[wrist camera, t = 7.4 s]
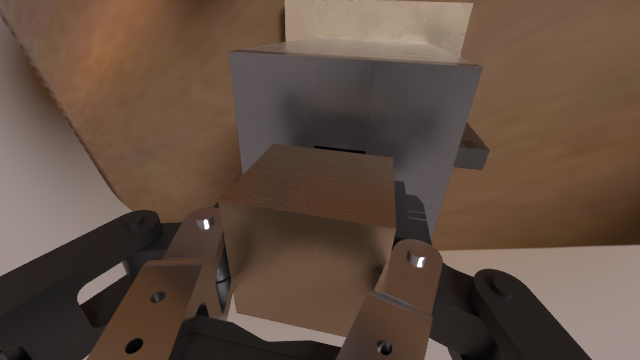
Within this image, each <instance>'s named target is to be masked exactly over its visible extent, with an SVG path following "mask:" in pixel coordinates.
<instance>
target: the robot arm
mask: <svg viewBox="0 0 640 360" xmlns="http://www.w3.org/2000/svg"><path fill="white" fill-rule="evenodd" d="M394 189H395V212H396V232H395V237H394V241H393V246H392V251H391V255H390V260H389V261H387V263H386V265H385V267H384V269H383V272H382V274H381V276H380V278H379V280H378V282H377V285H376V287H375V289H374V290H373V289H370V291H369V292H368V294H367V296H366V298H365V300H364V302H363V304H362V306H361V308H360V310H359V312H358V314H357V317H356V319H355V321H354V323H353V325H352V327H351V329H350V331H349V333H348V335H347V337H346V340H345V342H344V344H343V346H342V348H341V347H337V346H333V345H328V344H324V343H320V342H315V341H311V340H310V341H281V342H280V341H279V342H268V341H264V340H262V339H261V338H259V337H257V336H255V335H254V334H252V333H250V332H248V331H247V330H244V329H243V328H241V327H240V326H238V325H236V324H234V323H232V322H228V321H227V317H228V312H229V308H230V303H231V298H232V294H233V287H232V281H231V275H230V270H229V264H228V258H227V252H226V246H225V240H224V234H223V228H222V222H221V216H220V210H219V204H218V203H217V204H216V205H215V206H214V207H207V208H202V209H198V210H195V211H193V212H191V213H190V214H188V215H187V216H186V217H185V218H184V220H183V221H182V222H178V223H160V219H159V216H158V214H157V213H156V212H154V211H150V210H139V211H134V212H130V213H127V214H125V215H122V216H120V217H118V218H116V219H114V220H112V221H110V222H108V223H106V224H104V225H102V226H100V227H98V228H96V229H95V230H92V231H90V232H88V233H86V234H84V235H82V236H80V237H78V238H76V239H74V240H72V241H70V242H68V243H66V244H64V245H62V246H60V247H58V248H56V249H54V250H52V251H50V252H48V253H46V254H44V255H42V256H40V257H38V258H36V259H34V260H32V261H30V262H28V263H26V264H24V265H22V266H20V267H18V268H16V269H14V270H12V271H10V272H8V273H6V274H4V275H2V276H0V360H82V359H84V358H85V357H86V356H87V355H89V356H88V358H87V359H86V360H424V358H425V354H426V349H427V344H428V339H429V338H431V339H433V340H435V341H437V342H439V343H440V344H442V345H444V346H446V347H448V351H449V353H450V355H451V358H452V360H592V359H590V357H589V356H588V355H587V354H586V353H585V352H584V350H583V349H582V348H581V347H580V346H579V345H578V344H577V343H576V341H575V340H574V339H573V338H572V337H571V336H570V335H569V333H568V332H567V331H566V330H565V329H564V328H563V327H562V326H561V324H560V323H559V322H558V321H557V320H556V319H555V318H554V317H553V315H552V314H551V313H550V312H549V311H548V310H547V309H546V308H545V306H544V305H543V304H542V303H541V302H540V301H539V300H538V299H537V297H536V296H535V295H534V294H533V293H532V292H531V291H530V289H529V288H528V287H527V286H526V285H525V284H523V283H522V282H521V281H520V280H518V279H517V278H515V277H513V276H512V275H510V274H507V273H505V272H502V271H499V270H493V269H483V270H480V271H478V272H477V273H476V274H475V276H474V277H472V276H469V275H467V274H464V273H462V272H459V271H457V270H455V269H453V268H451V267H449V266H447V265H446V264H444V263H443V260H442V257H441V255H440V253H439V252H438V251H437V250H436V249H435V248H434V247H433V246H432V243H431V238H430V233H429V228H428V223H427V218H426V214H425V208H424V204H423V202H422V201H421V200H420V199H419V198H418V197H417V196H415V195H408V194H406V191H405V182H403V181H395V180H394ZM121 262H122V263H123V266H124V268H125V271H126V273H127V275H125V276H124V277H122V278H121V279H119V280H118V281H116V282H115V283H113V284H112V285H110V286H109V287H107V288H106V289H104V290H103V291H101V292H100V293H98V294H96V295H95V296H93V297H92V298H90V299H89V300H87V301H86V302H84V303H83V304H81V305H79V303H78V302H77V295H78V292H79V291H80V290H81V288H82V287H83V286H84V285H85V284H87V283H88V282H90V281H92V280H93V279H95V278H96V277H98V276H100V275H101V274H103V273H105V272H106V271H107V270H109V269H111V268H112V267H114V266H116V265H117V264H119V263H121Z"/></svg>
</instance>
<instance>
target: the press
mask: <svg viewBox="0 0 640 360" xmlns="http://www.w3.org/2000/svg"><path fill="white" fill-rule="evenodd" d="M472 7H473V3H449V2H414V1H379V0H285V37H286V42H282V43H276V44H270V45H264V46H258V47H252V48H246V49H240V50H234V51H229V58H230V67H231V76H232V85H233V94H234V103H235V112H236V121H237V130H238V139H239V148H240V157H241V166H242V175H243V174H244V173H245V172H246V171H247V170H248V169H249V168H250V167H251V166H252V165H253V164H254V163H255V162H256V161H257V160H258V159H259V158H260V157H261V156H262V155H263V154H264V152H265V151H266V150H267V149H268V148H269V147H270V146H271V145H272V144H281V145H290V146H298V147H307V148H316V149H324V150H334V148H341V149H350V150H356V153H359V154H367V155H376V156H384V157H393V166H394V180H395V181H403V182H405V191H406V194H408V195H415V196H417V197H418V198H419V199H420V200H421V201H422V202H423V204H424V208H425V214H426V218H427V223H428V228H429V233H430V238H431V239H432V235H433V232H434V229H435V225H436V222H437V219H438V215H439V212H440V209H441V205H442V202H443V199H444V195H445V192H446V189H447V185H448V182H449V179H450V175H451V172H452V168H453V167H459V168H468V169H476V170H483V167H484V165H485V162H486V159H487V156H488V153H489V151H490V150H489V149H488V148H487V146H486V145H485V144H484V143H483V141H482V140H481V139H480V138H479V137H478V135H477V134H476V133H475V132H474V130H473V129H472V128H471V127H470V125H469V124H468V123H467V118H468V115H469V112H470V108H471V105H472V101H473V98H474V95H475V91H476V88H477V85H478V81H479V78H480V75H481V71H482V68H483V67H481V66H479V65H476V64H474V63H472V62H470V61H467V60H465V59H463V58H461V57H460V53H461V50H462V46H463V42H464V38H465V34H466V30H467V26H468V22H469V18H470V14H471V11H472Z"/></svg>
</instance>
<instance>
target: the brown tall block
mask: <svg viewBox="0 0 640 360" xmlns="http://www.w3.org/2000/svg"><path fill="white" fill-rule="evenodd" d="M218 204H219V210H220V216H221V222H222V228H223V234H224V240H225V246H226V252H227V258H228V264H229V270H230V275H231V281H232V287H233V293H234V299H235V305H236V311H237V313H240V314H245V315H249V316H253V317H258V318H263V319H267V320H271V321H276V322H280V323H285V324H289V325H294V326H298V327H303V328H307V329H312V330H316V331H321V332H325V333H330V334H334V335H339V336H343V337H347V335H348V333H349V331H350V329H351V327H352V325H353V323H354V321H355V319H356V317H357V314H358V312H359V310H360V308H361V306H362V304H363V302H364V300H365V298H366V296H367V294H368V292H369V291H370V289H373V290H374V289H375V287H376V285H377V282H378V280H379V278H380V276H381V274H382V272H383V269H384V267H385V265H386V263H387V261H389V260H390V255H391V251H392V246H393V241H394V237H395V232H396V212H395V189H394V166H393V157H384V156H376V155H367V154H359V153H356V150H350V149H341V148H334V150H324V149H316V148H307V147H298V146H290V145H281V144H272V145H271V146H270V147H269V148H268V149H267V150H266V151H265V152H264V154H263V155H262V156H261V157H260V158H259V159H258V160H257V161H256V162H255V163H254V164H253V165H252V166H251V167H250V168H249V169H248V170H247V171H246V172H245V173H244V174H243V175H242V176H241V177H240V179H239V180H238V181H237V182H236V183H235V184H234V185H233V186H232V187H231V188H230V189H229V190H228V191H227V192H226V193H225V194H224V195H223V196H222V197H221V198H220V199H219V200H218Z"/></svg>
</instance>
